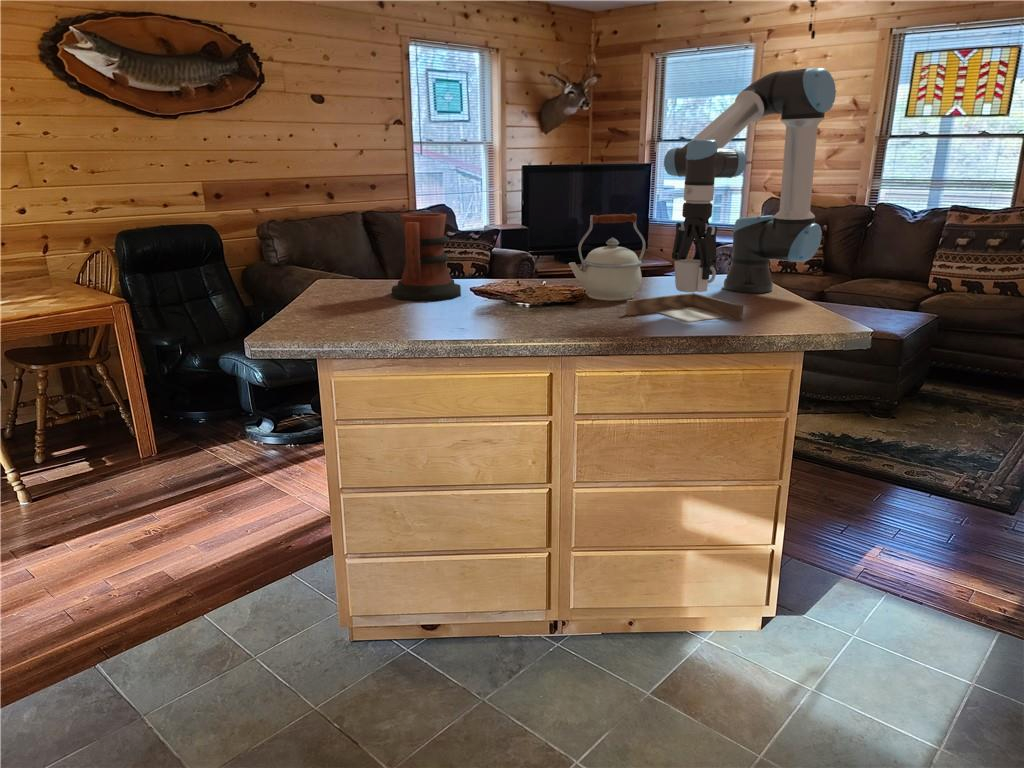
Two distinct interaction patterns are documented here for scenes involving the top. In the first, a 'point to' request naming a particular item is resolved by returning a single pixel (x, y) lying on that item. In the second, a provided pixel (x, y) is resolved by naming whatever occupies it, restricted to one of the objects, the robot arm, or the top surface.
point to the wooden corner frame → (686, 307)
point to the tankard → (425, 261)
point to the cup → (688, 275)
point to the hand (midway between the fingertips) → (691, 288)
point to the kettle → (610, 265)
